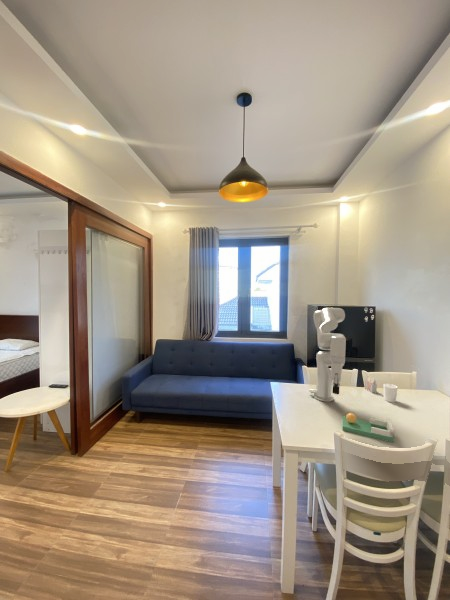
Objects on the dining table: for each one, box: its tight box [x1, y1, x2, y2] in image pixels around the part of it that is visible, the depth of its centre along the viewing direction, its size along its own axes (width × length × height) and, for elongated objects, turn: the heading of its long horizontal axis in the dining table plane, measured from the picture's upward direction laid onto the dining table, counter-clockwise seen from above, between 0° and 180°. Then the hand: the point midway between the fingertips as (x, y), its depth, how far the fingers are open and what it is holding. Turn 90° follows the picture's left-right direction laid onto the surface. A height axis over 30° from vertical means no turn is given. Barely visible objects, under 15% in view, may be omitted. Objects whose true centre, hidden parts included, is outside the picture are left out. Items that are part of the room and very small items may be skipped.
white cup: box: [382, 383, 398, 404], centre depth 165 cm, size 8×8×10 cm
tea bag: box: [364, 375, 378, 394], centre depth 180 cm, size 4×7×10 cm, turn 7°
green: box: [342, 415, 395, 443], centre depth 128 cm, size 22×12×6 cm, turn 64°
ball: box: [345, 412, 358, 423], centre depth 131 cm, size 5×5×5 cm
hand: (335, 391), depth 134 cm, fingers open, 4 cm apart
